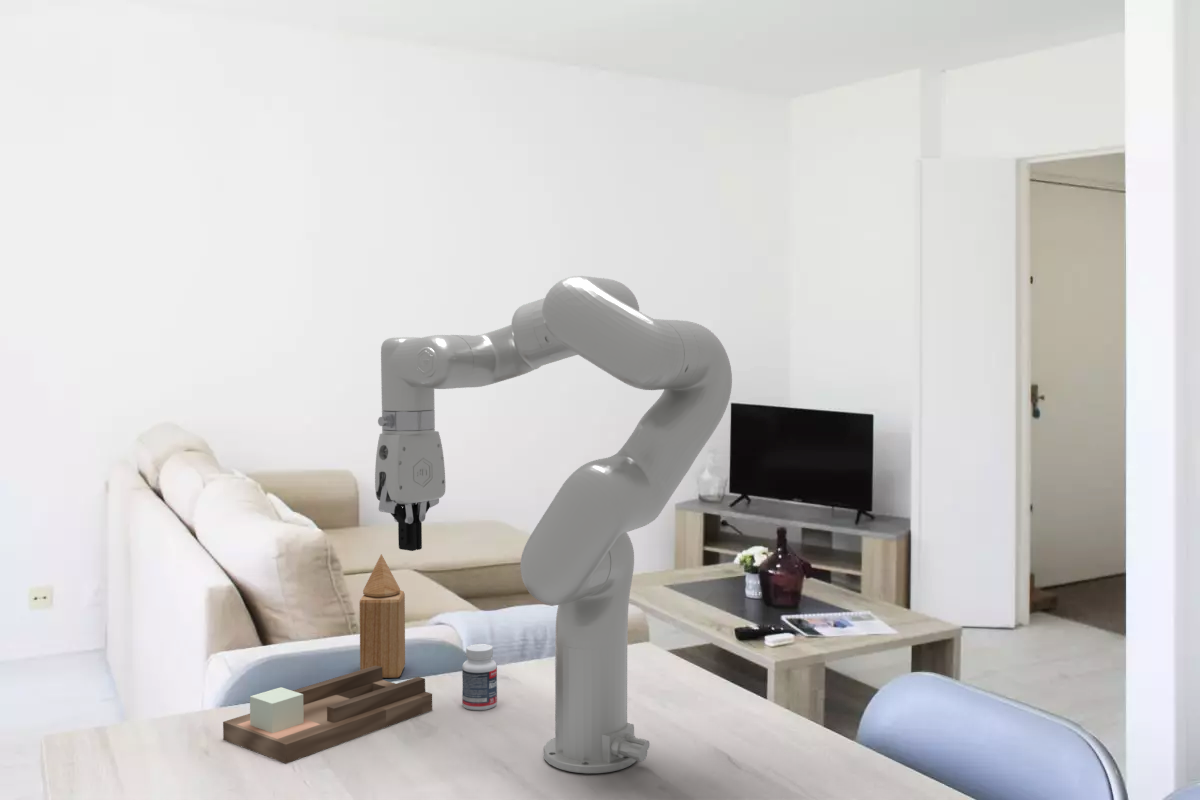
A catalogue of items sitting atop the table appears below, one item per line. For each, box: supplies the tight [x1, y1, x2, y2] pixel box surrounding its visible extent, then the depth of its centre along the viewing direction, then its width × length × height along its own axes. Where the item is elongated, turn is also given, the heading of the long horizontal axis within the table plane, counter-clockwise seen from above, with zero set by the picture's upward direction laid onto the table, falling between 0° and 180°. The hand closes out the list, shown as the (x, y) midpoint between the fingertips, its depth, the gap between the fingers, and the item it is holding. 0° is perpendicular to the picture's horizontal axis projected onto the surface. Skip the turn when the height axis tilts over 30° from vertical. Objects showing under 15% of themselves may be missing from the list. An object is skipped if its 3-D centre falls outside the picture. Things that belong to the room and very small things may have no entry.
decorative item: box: [359, 554, 406, 679], centre depth 178 cm, size 7×7×20 cm
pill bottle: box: [461, 643, 498, 711], centre depth 162 cm, size 5×5×9 cm
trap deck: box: [222, 666, 433, 764], centre depth 154 cm, size 14×26×4 cm, turn 143°
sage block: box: [249, 687, 304, 733], centre depth 147 cm, size 5×5×4 cm
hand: (410, 549), depth 156 cm, fingers closed
